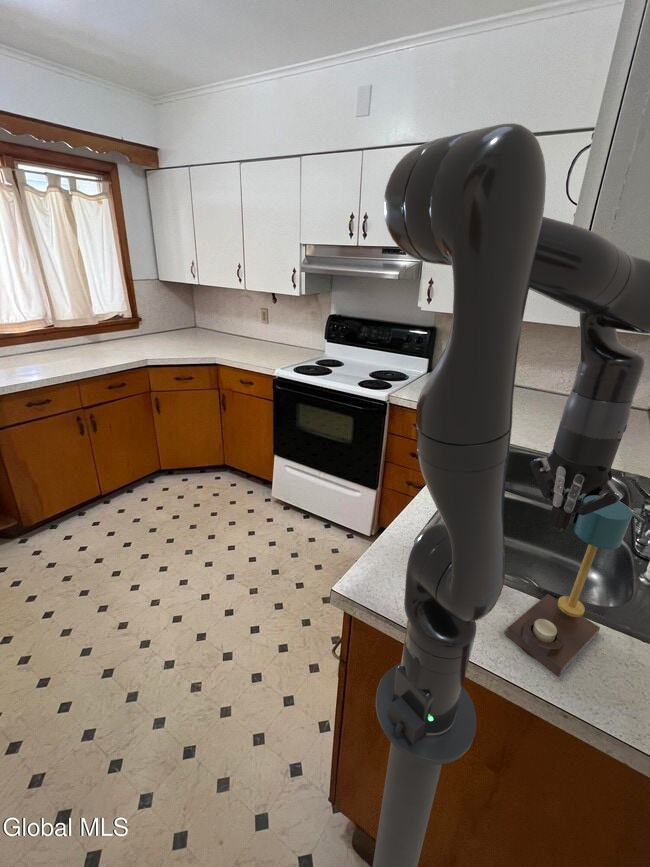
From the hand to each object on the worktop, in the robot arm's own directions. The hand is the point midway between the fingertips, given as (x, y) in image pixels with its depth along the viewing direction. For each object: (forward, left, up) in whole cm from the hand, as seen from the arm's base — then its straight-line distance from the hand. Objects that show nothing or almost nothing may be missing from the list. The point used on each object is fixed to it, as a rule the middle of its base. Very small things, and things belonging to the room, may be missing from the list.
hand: (558, 527), depth 65 cm
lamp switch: (+3, -2, -23) cm, 23 cm away
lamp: (+12, -2, -23) cm, 26 cm away
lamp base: (+7, -2, -27) cm, 28 cm away
